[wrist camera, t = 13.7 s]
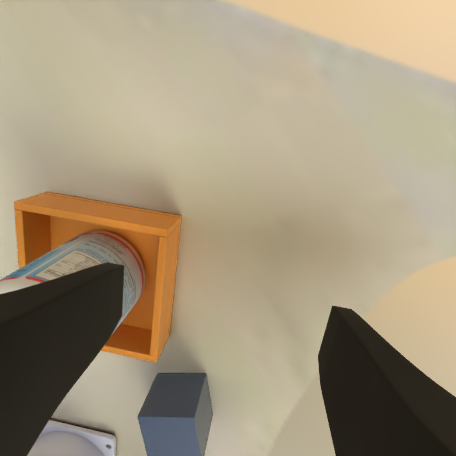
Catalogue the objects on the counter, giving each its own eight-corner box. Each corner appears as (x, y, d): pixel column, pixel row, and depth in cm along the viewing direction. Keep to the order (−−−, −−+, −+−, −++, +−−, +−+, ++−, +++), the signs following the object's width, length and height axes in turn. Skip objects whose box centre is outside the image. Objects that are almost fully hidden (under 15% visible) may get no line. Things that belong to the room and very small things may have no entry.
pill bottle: (77, 307, 24) (-78, 452, 13) (58, 229, 22) (-139, 325, 11) (155, 307, 23) (55, 463, 12) (142, 226, 21) (12, 327, 11)
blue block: (213, 413, 26) (203, 462, 22) (165, 412, 27) (148, 460, 23) (206, 373, 25) (194, 417, 21) (157, 373, 25) (137, 416, 22)
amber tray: (169, 335, 24) (156, 362, 21) (51, 310, 25) (23, 334, 22) (181, 215, 21) (167, 229, 18) (46, 191, 22) (13, 201, 19)
